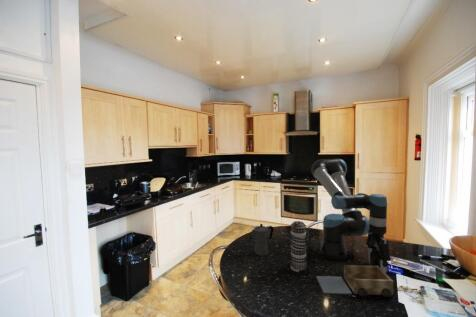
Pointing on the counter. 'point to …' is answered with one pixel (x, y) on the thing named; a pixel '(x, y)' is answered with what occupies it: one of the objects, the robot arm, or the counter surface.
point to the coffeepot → (262, 239)
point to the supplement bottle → (375, 256)
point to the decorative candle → (298, 246)
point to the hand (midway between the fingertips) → (377, 265)
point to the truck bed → (368, 280)
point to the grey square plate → (333, 285)
